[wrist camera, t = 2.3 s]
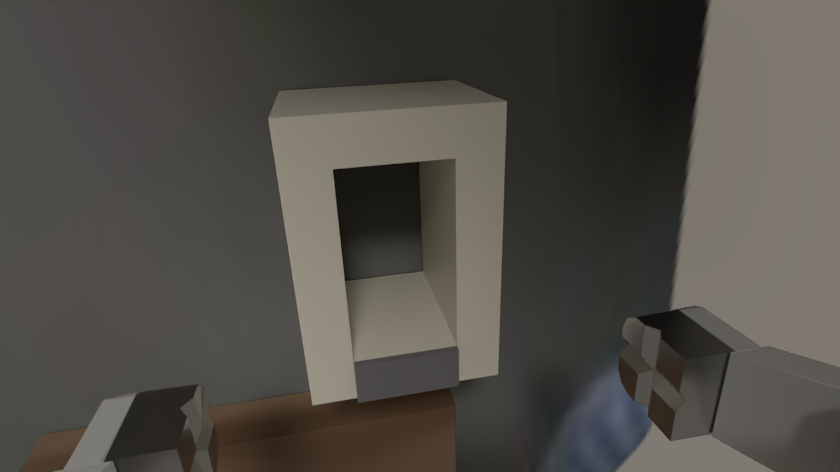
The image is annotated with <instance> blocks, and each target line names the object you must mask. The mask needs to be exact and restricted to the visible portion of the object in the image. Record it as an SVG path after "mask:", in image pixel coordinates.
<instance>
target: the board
mask: <svg viewBox="0 0 840 472" xmlns="http://www.w3.org/2000/svg"><path fill="white" fill-rule="evenodd" d="M206 418H208V419H209V420H210V421H212V422H213V423H214V425H215V429H216V433H217V441H218V466H217V471H216V472H456V415H455V403H454V401H453V398H452V395H451V393H450V390H449V388H444V389H438V390H432V391H427V392H421V393H415V394H409V395H403V396H397V397H391V398H385V399H379V400H373V401H367V402H361V403H358V398H354V399H348V400H342V401H336V402H330V403H324V404H318V405H312V399H311V392H310V391H309V392H303V393H297V394H291V395H284V396H278V397H272V398H266V399H260V400H254V401H247V402H241V403H235V404H229V405H223V406H216V407H210V408H208V409H207V413H206ZM86 429H87V428H80V429H74V430H68V431H62V432H56V433H49V434H43V435H42V437H41V439H40V440H39V442H38V443H37V445H36V446H35V448H34V450H33V451H32V453H31V454H30V456H29V457H28V459H27V461H26V462H25V464H24V465H23V467H22V468H21V470H20V471H19V472H53V471H59V470H63V469H64V467H65V465H66V464H67V462H68V460H69V459H70V457H71V455H72V453H73V452H74V450H75V448H76V446H77V445H78V443H79V441H80V439H81V438H82V436H83V434H84V432H85V431H86Z"/></svg>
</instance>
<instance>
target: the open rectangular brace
mask: <svg viewBox="0 0 840 472" xmlns="http://www.w3.org/2000/svg"><path fill="white" fill-rule="evenodd" d="M506 117H507V101H505V100H502V99H500V98H497V97H495V96H493V95H490V94H488V93H485V92H483V91H480V90H478V89H475V88H473V87H471V86H468V85H466V84H463V83H461V82H458V81H456V80H445V81H429V82H413V83H397V84H380V85H364V86H348V87H332V88H315V89H299V90H283V91H279V93H278V95H277V98H276V100H275V102H274V105H273V107H272V110H271V112H270V115H269V117H268V121H269V128H270V134H271V141H272V147H273V153H274V160H275V166H276V173H277V179H278V186H279V192H280V199H281V205H282V212H283V218H284V224H285V231H286V237H287V244H288V250H289V257H290V263H291V270H292V276H293V283H294V289H295V296H296V302H297V308H298V315H299V321H300V328H301V334H302V341H303V347H304V354H305V360H306V367H307V373H308V380H309V386H310V392H311V399H312V405H318V404H324V403H330V402H336V401H342V400H348V399H354V398H358V403H361V402H367V401H373V400H379V399H385V398H391V397H397V396H403V395H409V394H415V393H421V392H427V391H432V390H438V389H444V388H450V387H456V386H459V381H462V380H468V379H474V378H480V377H486V376H492V375H498V361H499V330H500V300H501V270H502V239H503V209H504V178H505V148H506ZM409 162H419V179H420V206H421V233H422V259H423V271H421V272H414V273H406V274H398V275H390V276H382V277H374V278H366V279H358V280H350V281H345V278H344V269H343V260H342V251H341V241H340V232H339V223H338V214H337V204H336V195H335V186H334V177H333V169H342V168H353V167H364V166H375V165H387V164H398V163H409Z"/></svg>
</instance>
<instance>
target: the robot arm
mask: <svg viewBox="0 0 840 472" xmlns="http://www.w3.org/2000/svg"><path fill="white" fill-rule="evenodd" d="M622 337H623V338H624V340H625V341H626V343H627V346H626V347H625V348H624V350H623V351H622V352H621V354H620V356H619V368H618V369H619V373H620V378H621V382H622V384H623V386H624V388H625V390H626V391H627V393H628V394H629V395H630V396H631V397H632V399H633V400H634V401H636V402H638V403H640V404H643V405H645V406H647V407H648V417H649V418H650V419H651V420H652V421H653V422H654V423H655V424H656V425H657V427H658V428H659V429H660V430H661V431H662V432H663V433H664V434H665V435H666V437H667V438H668V439H669V440H670V441H673V440H679V439H685V438H691V437H697V436H702V435H708V434H712V436H713V437H714V438H716V439H718V440H720V441H721V442H723V443H725V444H727V445H729V446H730V447H732V448H734V449H736V450H737V451H739V452H741V453H743V454H745V455H746V456H748V457H750V458H752V459H754V460H755V461H757V462H759V463H761V464H762V465H764V466H766V467H768V468H770V469H771V470H773V471H775V472H840V367H836V366H833V365H830V364H826V363H823V362H820V361H816V360H813V359H810V358H806V357H803V356H800V355H796V354H793V353H789V352H786V351H783V350H779V349H776V348H773V347H769V346H767V347H760V346H759V345H757V344H756V343H754V342H753V341H752V340H750V339H749V338H747V337H746V336H744V335H743V334H741V333H740V332H738V331H737V330H735V329H734V328H732V327H731V326H729V325H728V324H726V323H725V322H724V321H722V320H721V319H719V318H718V317H716V316H715V315H713V314H712V313H710V312H709V311H707V310H706V309H705V308H702V307H698V306H691V307H685V308H681V309H675V310H672V311H667V312H661V313H655V314H649V315H643V316H637V317H631V318H627V320H626V322H625V324H624V325H623V332H622ZM208 405H209V401H208V397H207V394H206V390H205V388H204V387H203V386H202V385H201V384H196V385H188V386H181V387H174V388H166V389H159V390H151V391H144V392H140V393H137V392H136V393H130V394H124V395H117V396H111V397H108V398H107V399H105V400H103V401H102V403H101V405H100V406H99V408H98V410H97V411H96V413H95V415H94V417H93V418H92V420H91V422H90V424H89V425H88V427H87V429H86V431H85V432H84V434H83V436H82V438H81V439H80V441H79V443H78V445H77V446H76V448H75V450H74V452H73V453H72V455H71V457H70V459H69V460H68V462H67V464H66V465H65V467H64V469H63V470H59V471H53V472H216V471H217V466H218V441H217V433H216V429H215V425H214V423H213V422H212V421H210V420H209V419H208V418H206V413H207V409H208Z"/></svg>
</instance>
